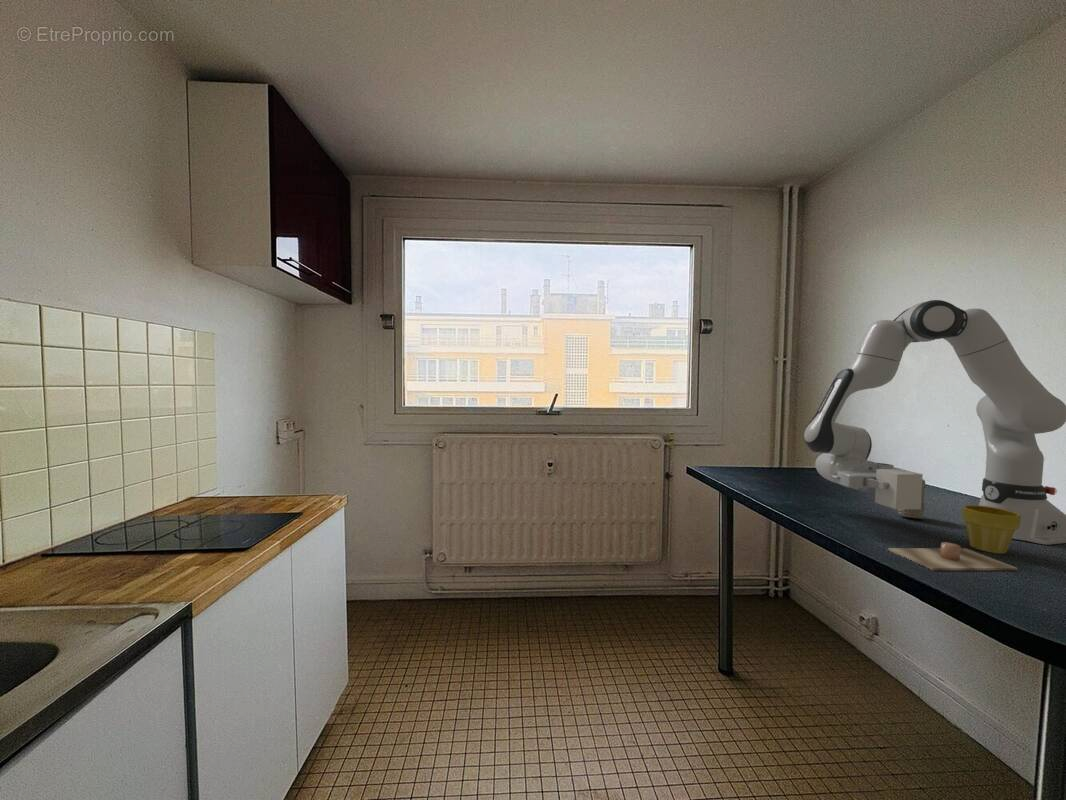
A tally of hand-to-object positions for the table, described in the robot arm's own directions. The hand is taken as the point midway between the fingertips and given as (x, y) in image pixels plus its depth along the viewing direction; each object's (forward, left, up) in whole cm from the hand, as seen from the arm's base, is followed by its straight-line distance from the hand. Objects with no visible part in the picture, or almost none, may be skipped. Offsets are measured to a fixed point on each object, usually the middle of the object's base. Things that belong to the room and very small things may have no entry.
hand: (901, 485), depth 126 cm
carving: (-20, -18, -14) cm, 30 cm away
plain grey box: (0, -1, -5) cm, 5 cm away
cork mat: (0, +15, -14) cm, 20 cm away
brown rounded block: (0, +15, -14) cm, 20 cm away
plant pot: (-17, +8, -14) cm, 23 cm away
